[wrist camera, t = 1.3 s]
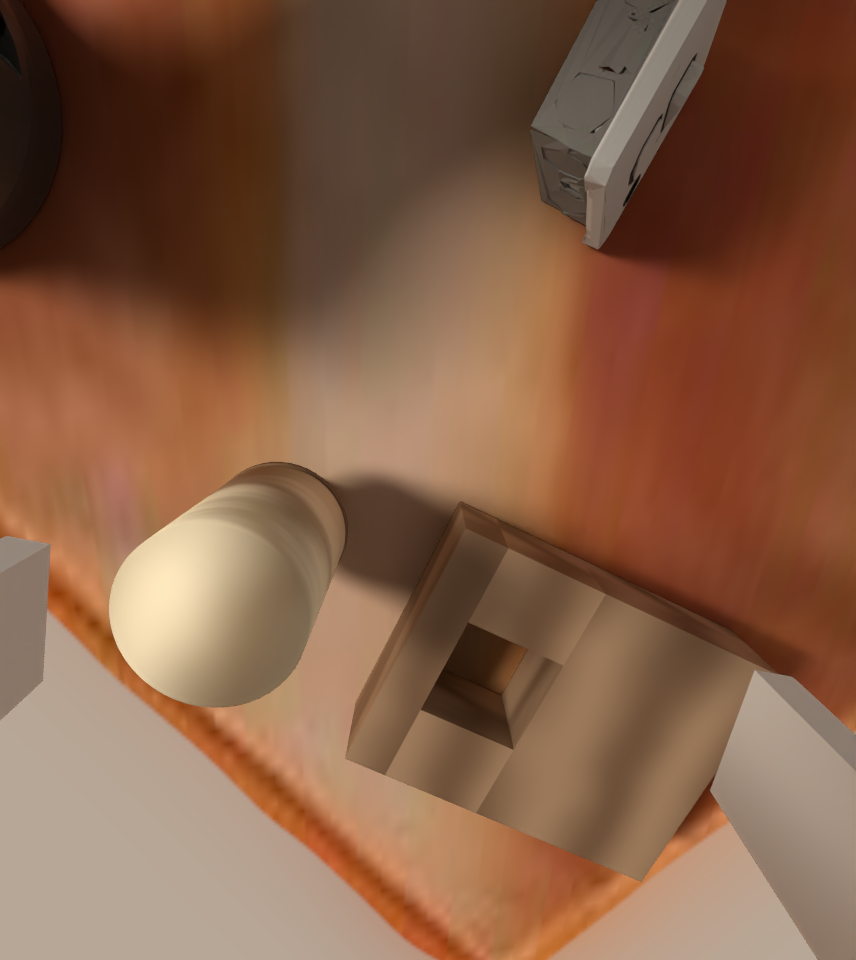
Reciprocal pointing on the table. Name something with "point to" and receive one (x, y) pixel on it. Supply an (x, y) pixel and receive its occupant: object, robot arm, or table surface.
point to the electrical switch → (618, 104)
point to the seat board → (554, 697)
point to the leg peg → (231, 587)
